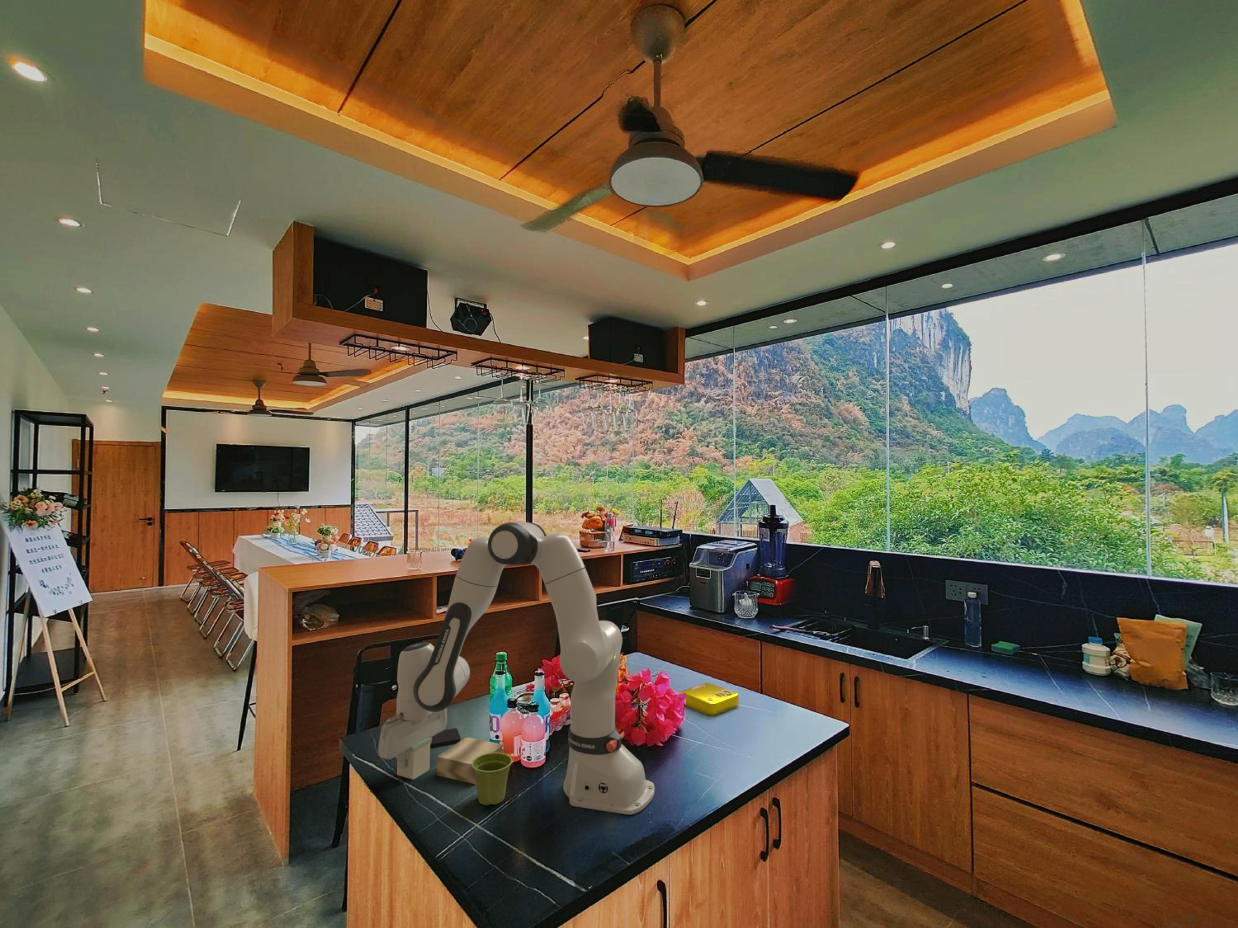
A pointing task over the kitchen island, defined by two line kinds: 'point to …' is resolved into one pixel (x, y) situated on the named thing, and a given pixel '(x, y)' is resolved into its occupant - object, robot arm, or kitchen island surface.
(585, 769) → the robot arm
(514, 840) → the kitchen island surface
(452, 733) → the smart home device
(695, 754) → the kitchen island surface
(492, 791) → the plant pot
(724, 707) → the element tile
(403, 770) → the cream tea tin
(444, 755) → the oak block
